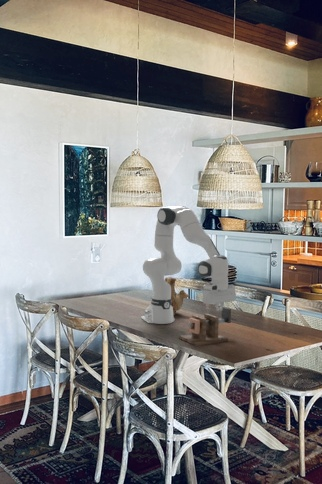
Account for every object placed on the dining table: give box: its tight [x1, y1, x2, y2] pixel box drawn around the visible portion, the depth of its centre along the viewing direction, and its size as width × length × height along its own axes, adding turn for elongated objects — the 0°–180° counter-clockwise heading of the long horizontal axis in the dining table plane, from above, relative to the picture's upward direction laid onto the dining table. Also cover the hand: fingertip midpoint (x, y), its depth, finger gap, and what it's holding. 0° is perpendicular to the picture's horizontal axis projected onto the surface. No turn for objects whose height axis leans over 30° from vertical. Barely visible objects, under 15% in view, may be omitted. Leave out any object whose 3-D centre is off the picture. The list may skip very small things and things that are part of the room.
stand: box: [178, 313, 229, 346], centre depth 276 cm, size 16×20×12 cm
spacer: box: [188, 317, 200, 334], centre depth 273 cm, size 7×2×7 cm, turn 31°
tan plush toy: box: [164, 276, 191, 316], centre depth 337 cm, size 18×19×25 cm
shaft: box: [187, 306, 232, 328], centre depth 277 cm, size 6×25×8 cm, turn 121°
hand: (219, 310), depth 280 cm, fingers closed
